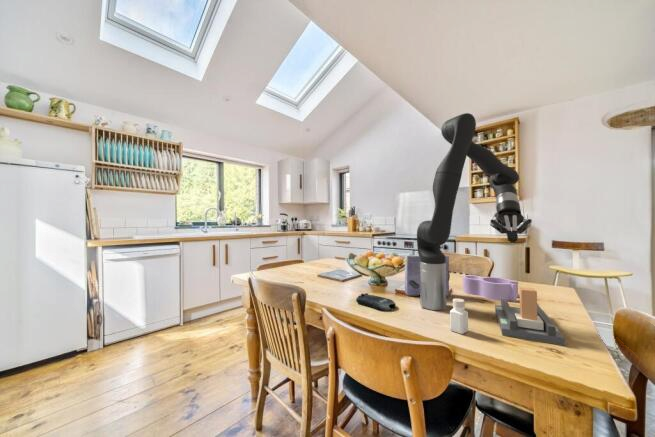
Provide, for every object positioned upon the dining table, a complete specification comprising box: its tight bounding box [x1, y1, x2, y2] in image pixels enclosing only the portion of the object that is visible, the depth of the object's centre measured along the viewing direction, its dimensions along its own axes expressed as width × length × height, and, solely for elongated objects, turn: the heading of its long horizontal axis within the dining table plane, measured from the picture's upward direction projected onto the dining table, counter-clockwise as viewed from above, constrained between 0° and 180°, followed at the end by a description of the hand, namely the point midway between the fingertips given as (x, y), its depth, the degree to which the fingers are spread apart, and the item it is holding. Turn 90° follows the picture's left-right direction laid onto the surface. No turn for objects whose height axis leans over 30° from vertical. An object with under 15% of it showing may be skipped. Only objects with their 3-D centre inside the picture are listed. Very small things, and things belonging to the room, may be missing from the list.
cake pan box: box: [404, 254, 451, 297], centre depth 115 cm, size 19×5×18 cm, turn 85°
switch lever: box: [515, 287, 544, 330], centre depth 77 cm, size 5×6×11 cm
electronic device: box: [355, 292, 397, 312], centre depth 104 cm, size 9×6×15 cm
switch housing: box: [494, 298, 566, 347], centre depth 82 cm, size 22×14×5 cm, turn 152°
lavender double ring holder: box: [462, 274, 519, 302], centre depth 113 cm, size 20×12×7 cm, turn 48°
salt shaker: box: [449, 298, 469, 335], centre depth 79 cm, size 4×4×10 cm
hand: (513, 241), depth 90 cm, fingers closed
